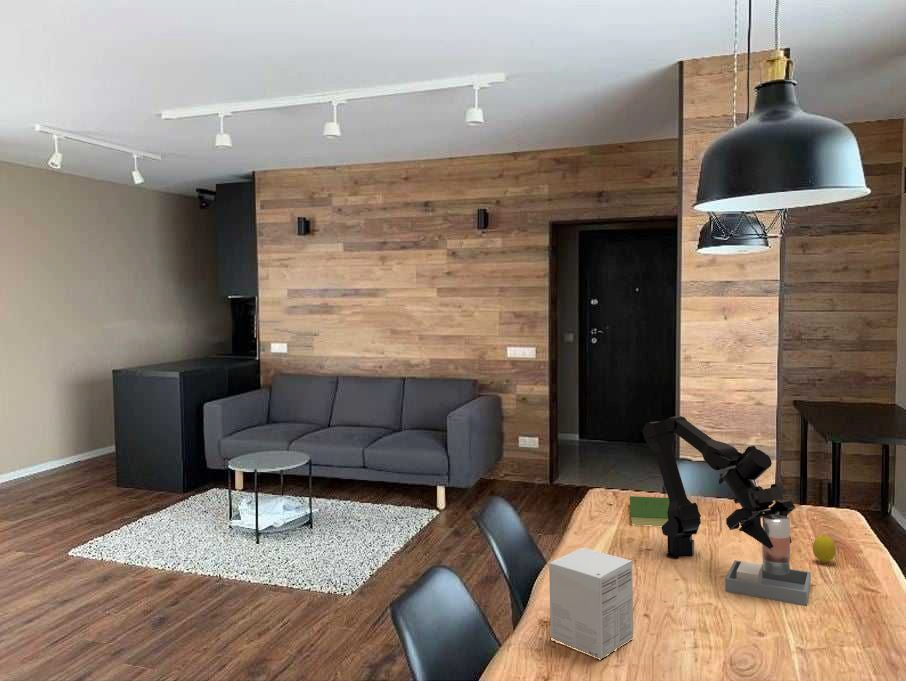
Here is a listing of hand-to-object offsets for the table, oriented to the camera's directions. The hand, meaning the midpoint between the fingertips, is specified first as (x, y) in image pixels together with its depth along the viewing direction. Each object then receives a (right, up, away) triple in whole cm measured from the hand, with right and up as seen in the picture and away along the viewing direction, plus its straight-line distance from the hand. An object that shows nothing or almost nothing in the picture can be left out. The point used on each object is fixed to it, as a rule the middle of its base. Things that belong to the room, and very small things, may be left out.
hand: (780, 545), depth 169 cm
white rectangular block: (-4, -12, +9) cm, 16 cm away
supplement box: (-49, -16, -18) cm, 55 cm away
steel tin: (0, -7, +2) cm, 7 cm away
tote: (0, -13, +6) cm, 14 cm away
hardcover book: (-9, -11, +69) cm, 71 cm away
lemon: (+23, -12, +23) cm, 35 cm away
